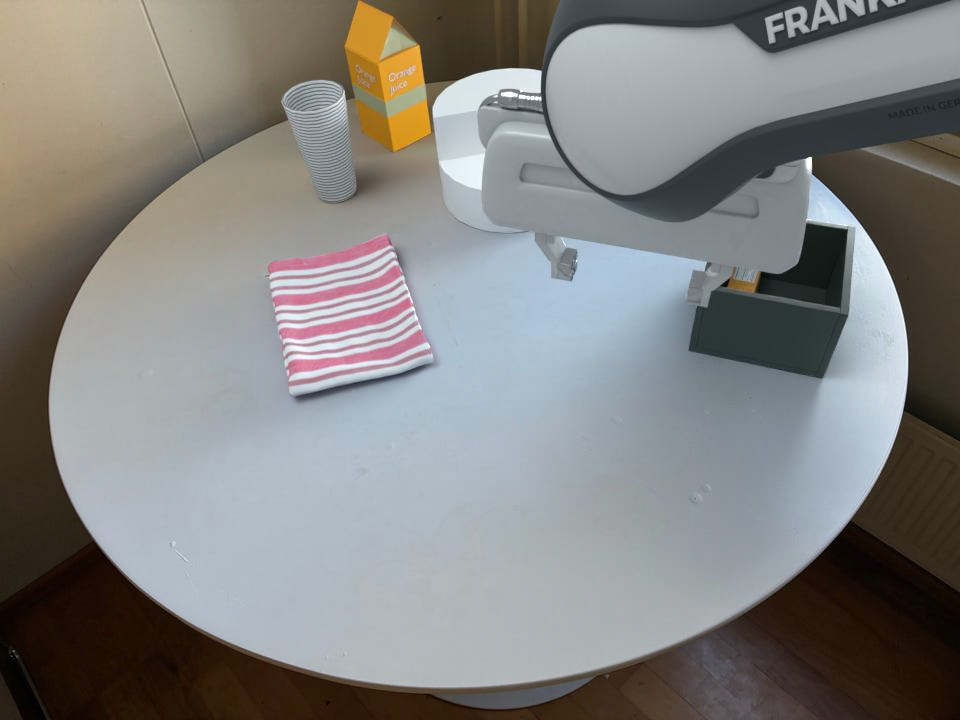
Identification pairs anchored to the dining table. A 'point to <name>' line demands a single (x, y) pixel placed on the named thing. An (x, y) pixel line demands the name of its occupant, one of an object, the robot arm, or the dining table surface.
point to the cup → (323, 136)
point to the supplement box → (745, 279)
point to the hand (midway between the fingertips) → (629, 286)
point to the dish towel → (345, 317)
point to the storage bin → (785, 309)
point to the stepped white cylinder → (471, 139)
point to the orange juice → (387, 79)
